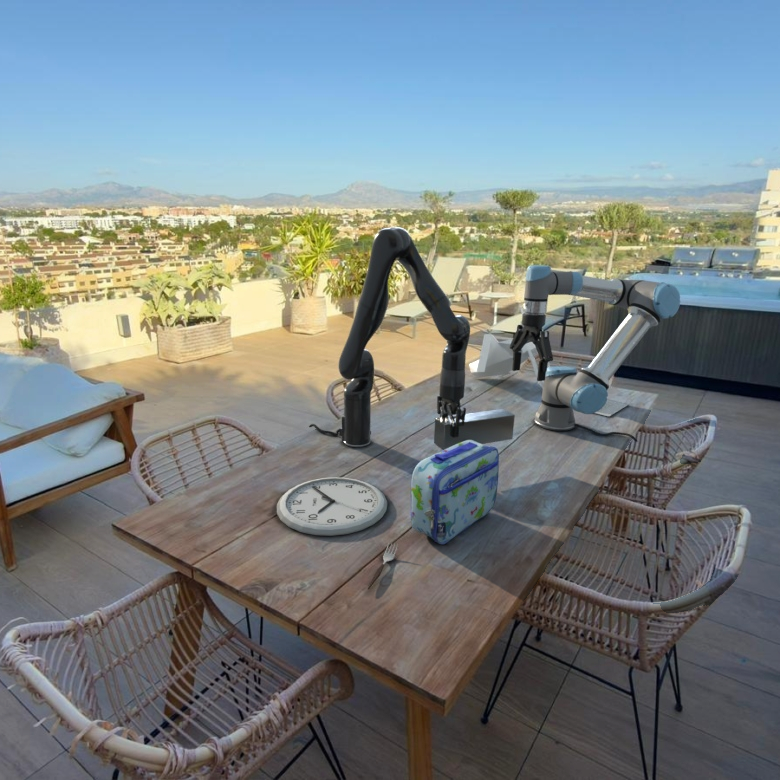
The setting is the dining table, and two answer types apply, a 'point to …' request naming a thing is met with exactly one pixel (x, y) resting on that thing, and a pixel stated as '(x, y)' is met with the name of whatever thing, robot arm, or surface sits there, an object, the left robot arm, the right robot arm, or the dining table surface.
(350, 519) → the wall clock
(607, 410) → the invitation card
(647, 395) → the dining table surface
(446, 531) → the lunch box
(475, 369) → the white plastic object
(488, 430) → the box
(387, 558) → the fork
